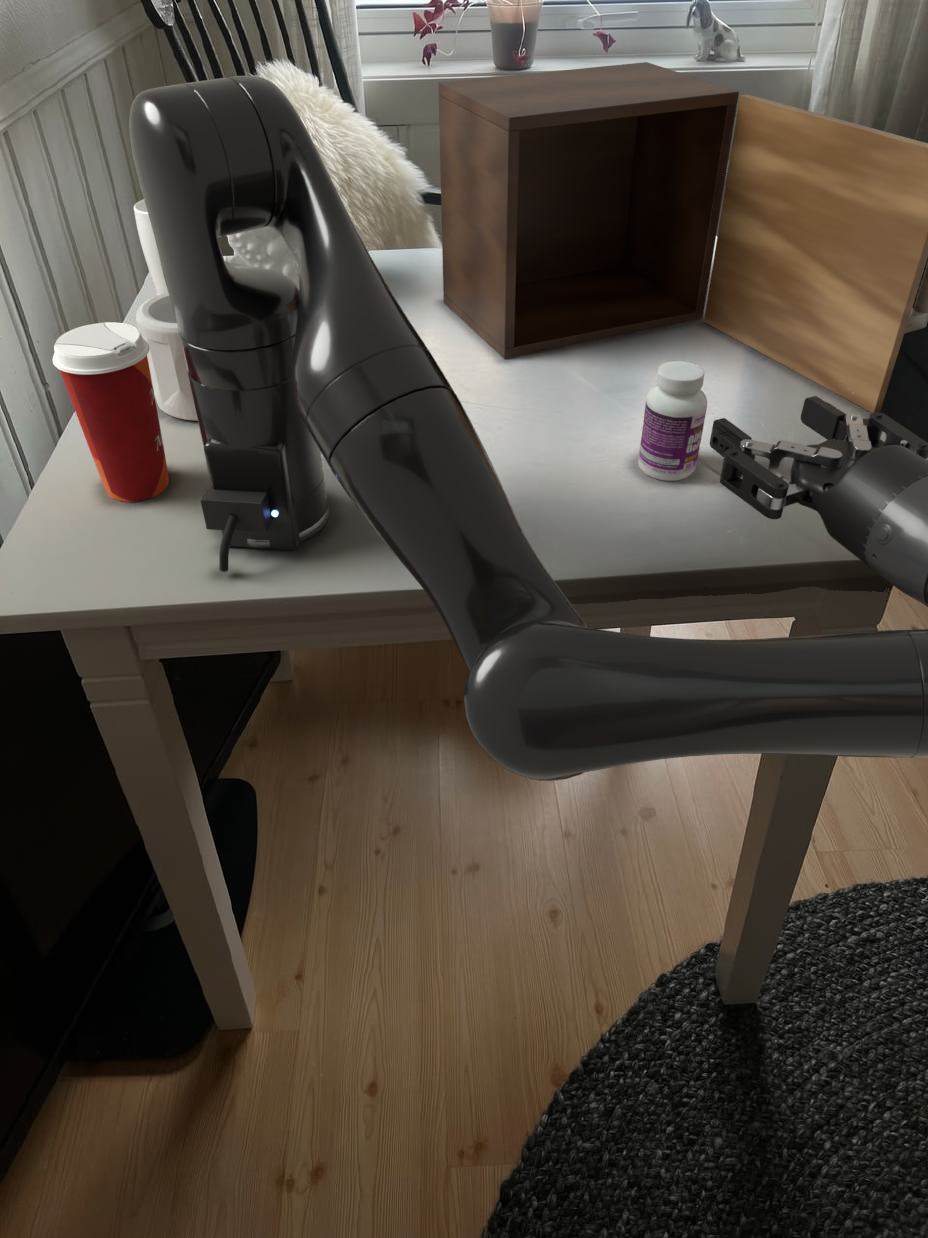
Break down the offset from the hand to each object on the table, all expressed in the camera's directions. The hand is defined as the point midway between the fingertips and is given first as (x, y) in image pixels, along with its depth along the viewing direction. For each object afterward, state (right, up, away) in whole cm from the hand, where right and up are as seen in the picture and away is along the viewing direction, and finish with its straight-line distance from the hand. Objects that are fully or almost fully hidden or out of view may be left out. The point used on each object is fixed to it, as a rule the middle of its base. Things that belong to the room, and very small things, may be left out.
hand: (761, 418), depth 72 cm
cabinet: (-10, +22, +43) cm, 49 cm away
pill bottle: (-4, -2, +15) cm, 15 cm away
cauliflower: (-45, +27, +49) cm, 72 cm away
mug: (-51, +8, +27) cm, 58 cm away
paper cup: (-53, -4, +13) cm, 55 cm away
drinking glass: (-55, +17, +38) cm, 69 cm away
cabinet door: (+15, +14, +32) cm, 38 cm away
